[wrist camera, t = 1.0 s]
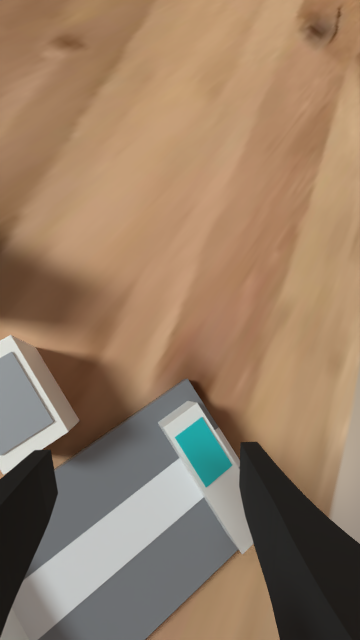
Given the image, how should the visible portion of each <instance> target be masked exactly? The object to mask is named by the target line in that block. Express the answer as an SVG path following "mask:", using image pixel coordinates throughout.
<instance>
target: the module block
mask: <svg viewBox="0 0 360 640" xmlns="http://www.w3.org/2000/svg"><path fill="white" fill-rule="evenodd" d="M79 421H80V420H79V419H78V417H77V415H76V414H75V412H74V410H73V409H72V407H71V405H70V404H69V402H68V400H67V399H66V397H65V395H64V394H63V392H62V390H61V389H60V387H59V385H58V384H57V382H56V380H55V379H54V377H53V375H52V374H51V372H50V370H49V369H48V367H47V365H46V364H45V362H44V360H43V359H42V357H41V355H40V354H39V352H38V350H37V349H36V347H34V346H32V345H30V344H28V343H26V342H24V341H22V340H20V339H18V338H16V337H14V336H12V335H10V336H8V337H6V338H4V339H2V340H0V470H1V472H2V473H3V475H4V474H5V473H7V472H9V471H10V470H12V469H13V468H14V467H15V466H16V465H17V464H18V463H20V462H21V461H22V460H23V459H24V458H25V457H27V456H28V455H29V454H30V453H32V452H33V451H34V450H42V449H43V448H45V447H46V446H48V445H49V444H51V443H52V442H54V441H55V440H57V439H58V438H60V437H61V436H63V435H64V434H66V433H67V432H69V431H70V430H71V429H72V428H73V427H74V426H75V425H76V424H77V423H78V422H79Z"/></svg>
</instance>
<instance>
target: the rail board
mask: <svg viewBox="0 0 360 640" xmlns="http://www.w3.org/2000/svg"><path fill="white" fill-rule="evenodd" d="M54 472H55V478H56V483H57V489H58V495H57V499H56V502H55V505H54V508H53V512H52V515H51V518H50V521H49V523H48V526H47V528H46V530H45V533H44V535H43V537H42V540H41V542H40V544H39V546H38V549H37V551H36V553H35V555H34V558H33V560H32V562H31V564H30V567H29V569H28V571H27V573H26V575H25V578H24V580H23V582H22V584H21V587H20V589H19V591H18V593H17V596H16V598H15V600H14V603H13V605H12V608H11V610H10V613H9V615H8V618H7V621H6V623H5V626H4V629H3V632H2V635H1V637H0V640H145V639H146V638H147V637H148V636H149V635H150V634H151V633H152V632H153V631H154V630H155V629H156V628H157V627H158V626H159V625H161V624H162V623H163V622H164V621H165V620H166V619H167V618H168V617H169V616H170V615H171V614H172V613H173V612H174V611H175V610H176V609H177V608H178V607H179V606H180V605H181V604H182V603H183V602H184V601H185V600H186V599H187V598H189V597H190V596H191V595H192V594H193V593H194V592H195V591H196V590H197V589H198V588H199V587H200V586H201V585H202V584H203V583H204V582H205V581H206V580H207V579H208V578H209V577H210V576H211V575H212V574H213V573H214V572H215V571H216V570H218V569H219V568H220V567H221V566H222V565H223V564H224V563H225V562H226V561H227V560H228V559H229V558H230V557H231V556H232V555H233V554H234V553H235V552H236V551H237V550H238V549H239V551H240V552H241V553H242V554H243V553H244V552H245V551H246V550H247V549H248V548H249V547H250V546H251V545H252V544H253V540H252V536H251V533H250V530H249V527H248V523H247V520H246V517H245V513H244V508H243V503H242V498H241V493H240V488H239V474H240V460H239V458H238V456H237V455H236V453H235V452H234V450H233V449H232V447H231V446H230V444H229V442H228V441H227V439H226V438H225V436H224V435H223V433H222V431H221V430H220V428H219V427H218V426H217V424H216V422H215V421H214V419H213V418H212V416H211V415H210V413H209V412H208V410H207V408H206V407H205V405H204V404H203V402H202V401H201V399H200V397H199V396H198V394H197V393H196V391H195V390H194V388H193V386H192V385H191V383H190V382H189V380H188V379H184V380H182V381H181V382H179V383H178V384H177V385H175V386H174V387H172V388H171V389H169V390H168V391H166V392H165V393H164V394H162V395H161V396H159V397H158V398H156V399H155V400H153V401H152V402H151V403H149V404H148V405H146V406H145V407H143V408H142V409H140V410H139V411H138V412H136V413H135V414H133V415H132V416H130V417H129V418H127V419H126V420H125V421H123V422H122V423H120V424H119V425H117V426H116V427H114V428H113V429H112V430H110V431H109V432H107V433H106V434H104V435H103V436H101V437H100V438H99V439H97V440H96V441H94V442H93V443H91V444H90V445H88V446H87V447H86V448H84V449H83V450H81V451H80V452H78V453H77V454H75V455H74V456H73V457H71V458H70V459H68V460H67V461H65V462H64V463H62V464H61V465H60V466H58V467H57V468H55V469H54Z"/></svg>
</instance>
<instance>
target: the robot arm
mask: <svg viewBox="0 0 360 640" xmlns="http://www.w3.org/2000/svg"><path fill="white" fill-rule="evenodd" d="M239 488H240V493H241V498H242V503H243V508H244V513H245V517H246V520H247V523H248V527H249V530H250V533H251V536H252V540H253V543H254V546H255V549H256V552H257V556H258V559H259V562H260V565H261V568H262V572H263V575H264V578H265V581H266V584H267V588H268V592H269V595H270V599H271V602H272V607H273V611H274V615H275V620H276V624H277V628H278V633H279V637H280V640H360V544H359V543H358V542H357V541H355V540H354V539H353V538H352V537H350V536H349V535H348V534H347V533H345V532H344V531H343V530H342V529H341V528H340V527H338V526H337V525H336V524H335V523H334V522H333V521H331V520H330V519H329V518H328V517H327V516H326V515H325V514H324V513H323V512H321V511H320V510H319V509H318V508H317V507H316V506H315V505H314V504H313V503H312V502H311V501H310V500H309V499H308V498H307V497H306V496H305V495H304V494H303V493H302V492H301V491H300V490H299V489H298V488H297V487H296V486H295V485H294V484H293V483H292V481H291V480H290V479H289V478H288V477H287V476H286V475H285V474H284V473H283V472H282V471H281V469H280V468H279V467H278V466H277V465H276V464H275V463H274V461H273V460H272V459H271V458H270V457H269V455H268V454H267V453H266V452H265V451H264V449H263V448H262V447H261V446H260V445H259V444H258V443H257V442H241V448H240V474H239ZM57 495H58V489H57V483H56V478H55V472H54V466H53V461H52V455H51V450H34V451H33V452H32V453H30V454H29V455H28V456H27V457H25V458H24V459H23V460H22V461H21V462H20V463H18V464H17V465H16V466H15V467H14V468H13V469H12V470H10V471H9V472H8V473H7V474H6V475H5V476H4V477H2V478H1V479H0V637H1V635H2V632H3V629H4V626H5V623H6V621H7V618H8V615H9V613H10V610H11V608H12V605H13V603H14V600H15V598H16V596H17V593H18V591H19V589H20V587H21V584H22V582H23V580H24V578H25V575H26V573H27V571H28V569H29V567H30V564H31V562H32V560H33V558H34V555H35V553H36V551H37V549H38V546H39V544H40V542H41V540H42V537H43V535H44V533H45V530H46V528H47V526H48V523H49V521H50V518H51V515H52V512H53V508H54V505H55V502H56V499H57Z"/></svg>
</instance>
